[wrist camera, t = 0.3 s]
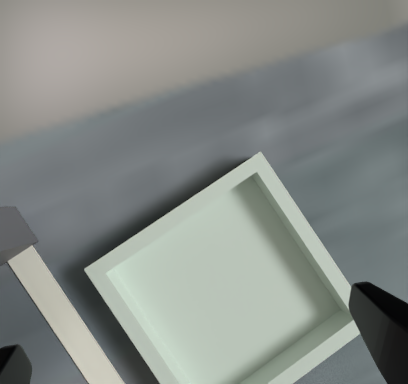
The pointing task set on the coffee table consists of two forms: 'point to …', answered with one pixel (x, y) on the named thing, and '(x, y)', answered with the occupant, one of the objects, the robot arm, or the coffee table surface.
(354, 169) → the coffee table surface
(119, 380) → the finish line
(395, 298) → the robot arm
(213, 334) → the tray
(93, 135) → the coffee table surface
